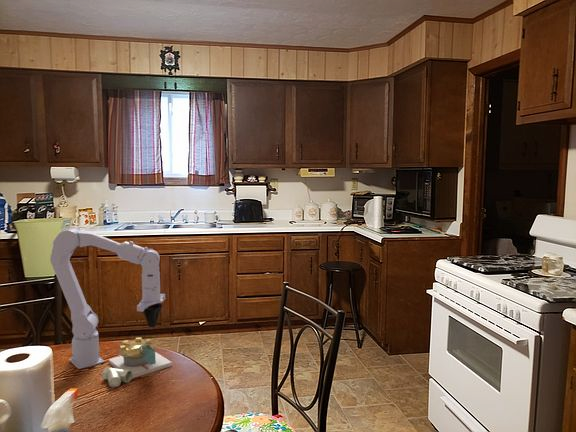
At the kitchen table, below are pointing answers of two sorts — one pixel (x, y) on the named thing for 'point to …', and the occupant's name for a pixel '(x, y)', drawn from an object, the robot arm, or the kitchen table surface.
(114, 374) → the pipe fitting
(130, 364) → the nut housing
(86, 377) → the kitchen table surface
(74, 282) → the robot arm
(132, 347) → the gold gear
